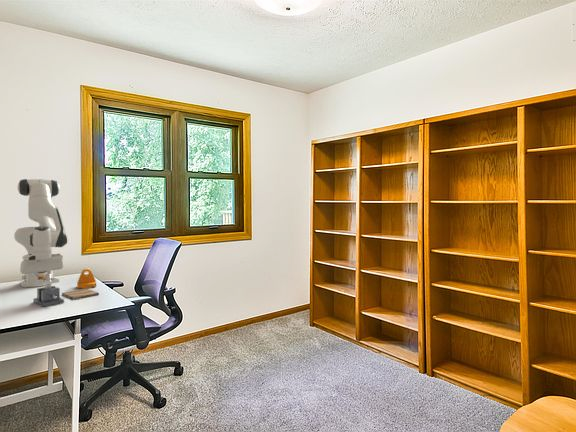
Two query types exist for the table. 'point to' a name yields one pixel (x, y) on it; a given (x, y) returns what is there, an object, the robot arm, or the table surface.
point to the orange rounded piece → (86, 280)
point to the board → (80, 294)
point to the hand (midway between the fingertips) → (42, 279)
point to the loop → (43, 281)
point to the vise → (48, 295)
